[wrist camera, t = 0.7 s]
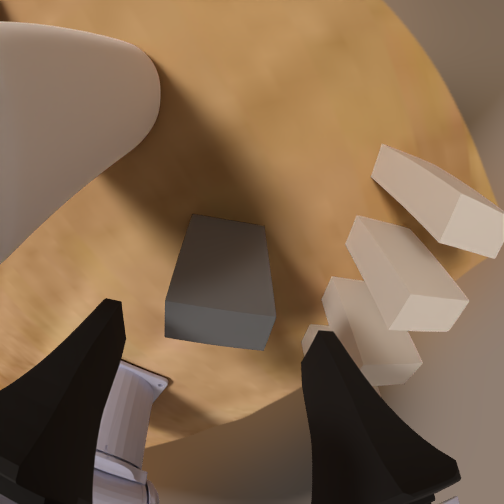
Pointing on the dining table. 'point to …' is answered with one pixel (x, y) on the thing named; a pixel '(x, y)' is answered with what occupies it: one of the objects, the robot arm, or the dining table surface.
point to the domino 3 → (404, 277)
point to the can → (64, 117)
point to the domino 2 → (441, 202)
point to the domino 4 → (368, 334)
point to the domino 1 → (221, 286)
